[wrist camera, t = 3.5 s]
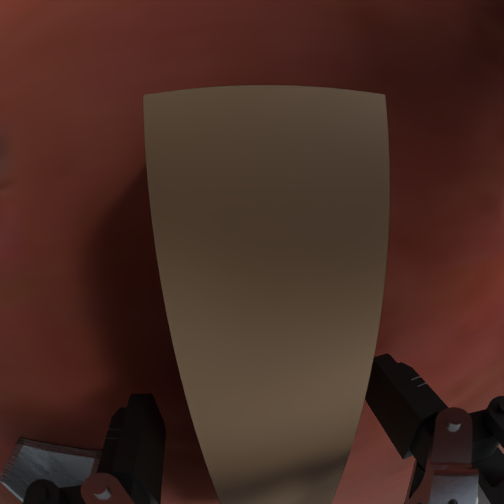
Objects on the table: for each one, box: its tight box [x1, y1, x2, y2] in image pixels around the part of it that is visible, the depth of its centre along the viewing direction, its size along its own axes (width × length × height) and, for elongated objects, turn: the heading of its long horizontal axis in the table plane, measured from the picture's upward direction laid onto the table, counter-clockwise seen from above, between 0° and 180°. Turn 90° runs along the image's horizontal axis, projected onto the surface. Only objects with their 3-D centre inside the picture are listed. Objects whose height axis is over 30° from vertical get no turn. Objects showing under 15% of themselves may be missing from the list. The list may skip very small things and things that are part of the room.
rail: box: [143, 85, 390, 504], centre depth 9 cm, size 18×4×5 cm, turn 4°
